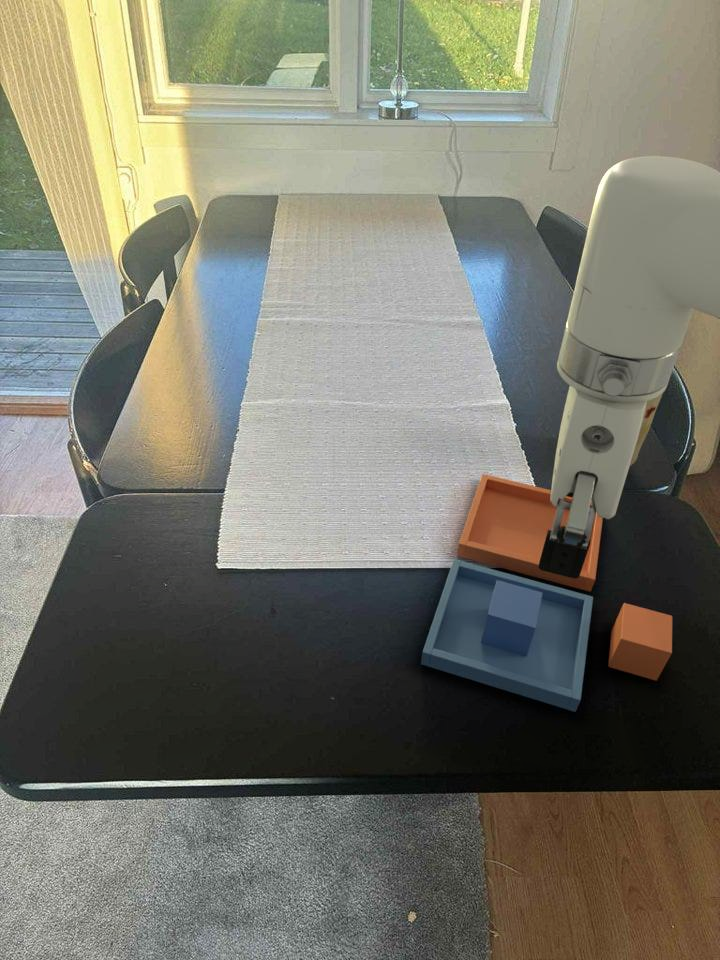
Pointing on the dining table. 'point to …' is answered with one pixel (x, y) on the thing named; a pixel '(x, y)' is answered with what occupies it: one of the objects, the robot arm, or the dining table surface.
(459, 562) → the blue tray
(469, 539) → the terracotta tray
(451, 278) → the dining table surface
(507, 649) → the blue block
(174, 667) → the dining table surface
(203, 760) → the dining table surface
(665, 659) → the terracotta block
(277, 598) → the dining table surface
